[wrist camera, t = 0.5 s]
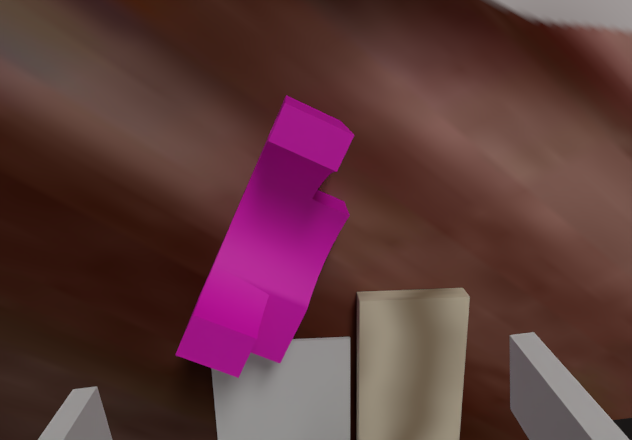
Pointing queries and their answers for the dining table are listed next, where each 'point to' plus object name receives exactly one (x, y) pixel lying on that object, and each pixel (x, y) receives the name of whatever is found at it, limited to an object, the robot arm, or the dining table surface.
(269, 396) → the mat
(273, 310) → the toy block
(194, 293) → the dining table surface
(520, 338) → the robot arm
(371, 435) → the board
